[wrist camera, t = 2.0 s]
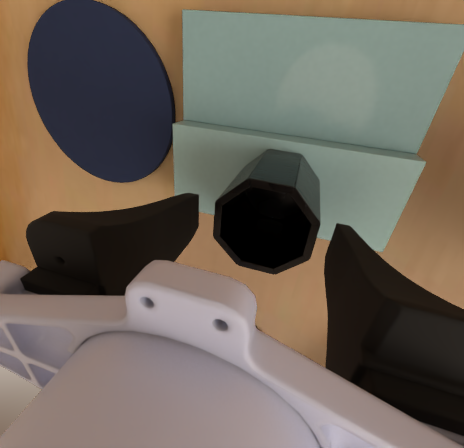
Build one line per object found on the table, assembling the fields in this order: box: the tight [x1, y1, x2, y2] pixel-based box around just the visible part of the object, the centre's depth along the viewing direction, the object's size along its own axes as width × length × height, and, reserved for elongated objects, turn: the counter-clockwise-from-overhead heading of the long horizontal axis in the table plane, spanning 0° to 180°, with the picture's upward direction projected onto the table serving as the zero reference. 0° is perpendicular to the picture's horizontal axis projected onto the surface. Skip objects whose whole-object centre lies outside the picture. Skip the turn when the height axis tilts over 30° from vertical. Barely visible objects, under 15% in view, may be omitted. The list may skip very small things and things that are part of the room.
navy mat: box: [28, 0, 175, 183], centre depth 22 cm, size 14×14×1 cm
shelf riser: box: [172, 9, 464, 252], centre depth 18 cm, size 16×13×4 cm
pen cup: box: [213, 149, 321, 274], centre depth 15 cm, size 5×5×6 cm
